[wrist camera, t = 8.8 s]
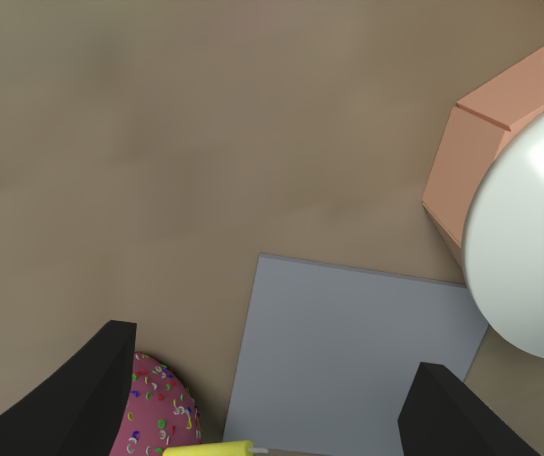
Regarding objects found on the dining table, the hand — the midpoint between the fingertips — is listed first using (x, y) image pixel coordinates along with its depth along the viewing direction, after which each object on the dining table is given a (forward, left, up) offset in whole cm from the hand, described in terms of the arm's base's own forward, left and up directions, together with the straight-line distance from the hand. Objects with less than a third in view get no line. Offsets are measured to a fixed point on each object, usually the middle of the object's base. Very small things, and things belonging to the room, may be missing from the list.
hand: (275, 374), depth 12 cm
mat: (-6, +8, -10) cm, 14 cm away
